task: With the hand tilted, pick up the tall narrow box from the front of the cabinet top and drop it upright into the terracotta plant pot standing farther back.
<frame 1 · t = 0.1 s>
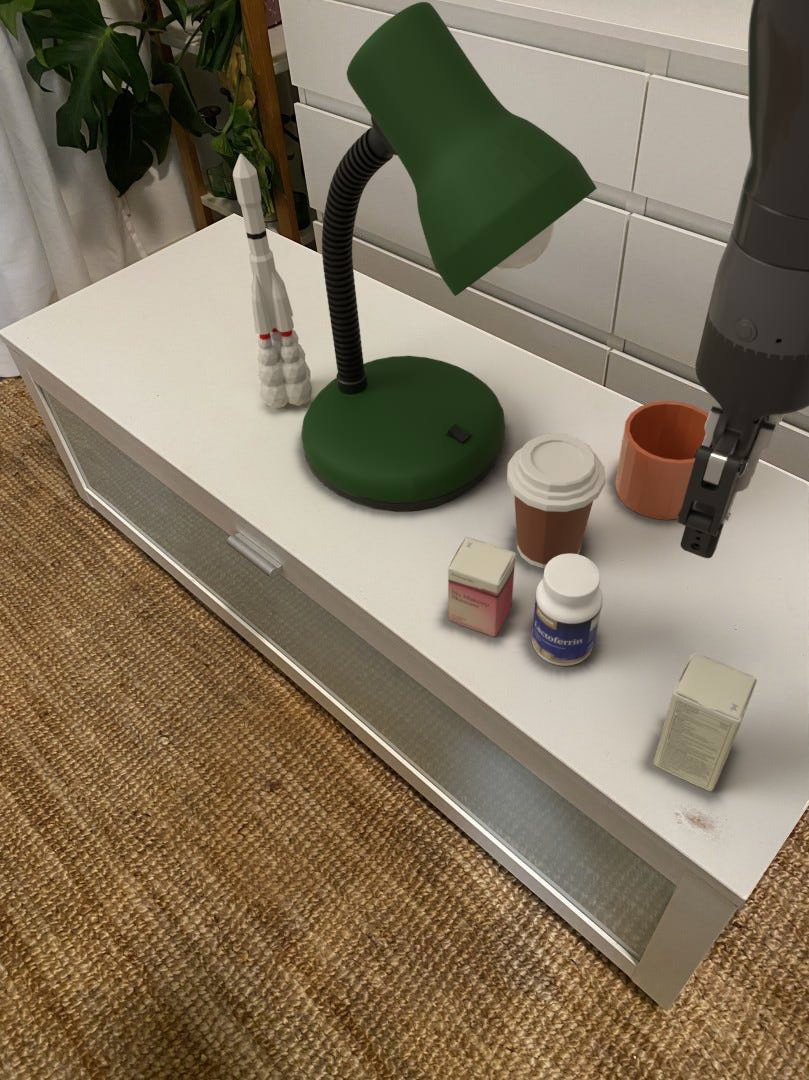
hand: (717, 511, 60), 21 cm above the tv stand, tool pointing down, fingers open, 8 cm apart
terracotta plant pot: (659, 487, 92), on the tv stand
coffee cup: (548, 546, 87), on the tv stand
small box: (480, 614, 82), on the tv stand
pill bottle: (562, 643, 79), on the tv stand
rocket model: (289, 399, 106), on the tv stand
box: (688, 759, 71), on the tv stand
desk lamp: (432, 455, 98), on the tv stand
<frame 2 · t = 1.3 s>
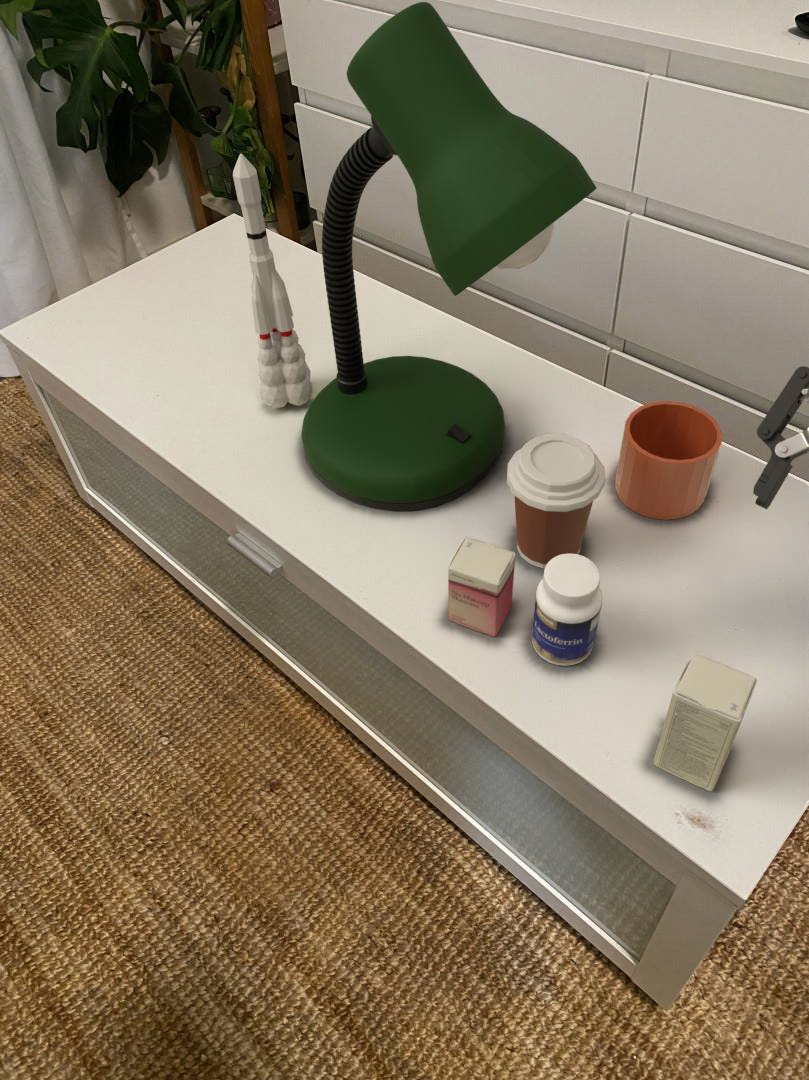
nothing on the tv stand moved.
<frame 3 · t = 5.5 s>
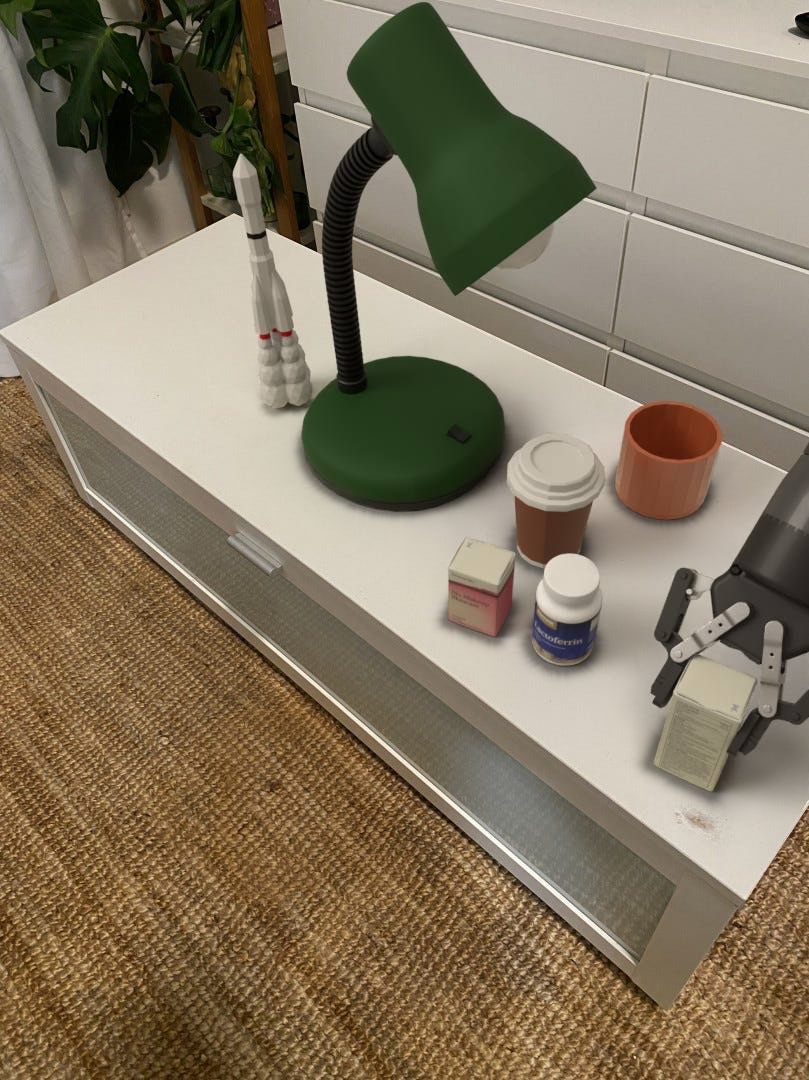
hand: (695, 728, 65), 7 cm above the tv stand, tool tilted 45°, fingers closed on box, 5 cm apart
box: (688, 759, 71), on the tv stand, touching gripper
everything else where it was.
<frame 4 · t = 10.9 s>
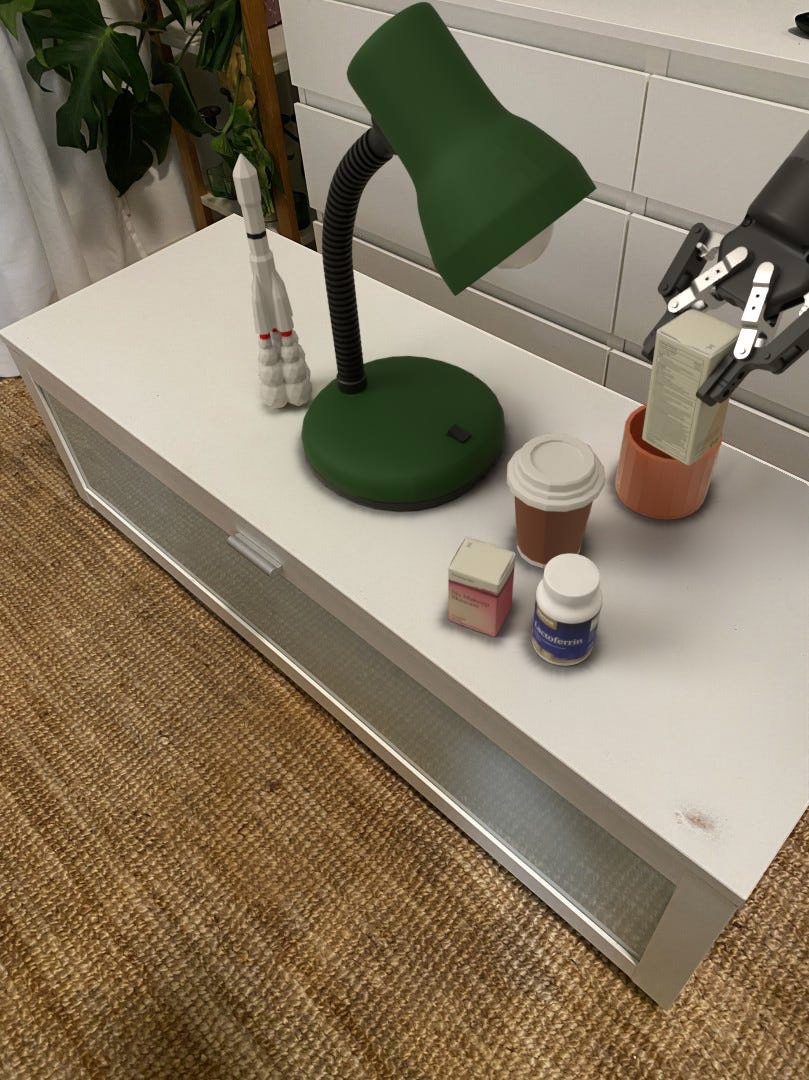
hand: (676, 379, 66), 24 cm above the tv stand, tool tilted 45°, fingers closed on box, 5 cm apart
box: (678, 442, 72), point 16 cm above the tv stand, touching gripper
everything else where it was.
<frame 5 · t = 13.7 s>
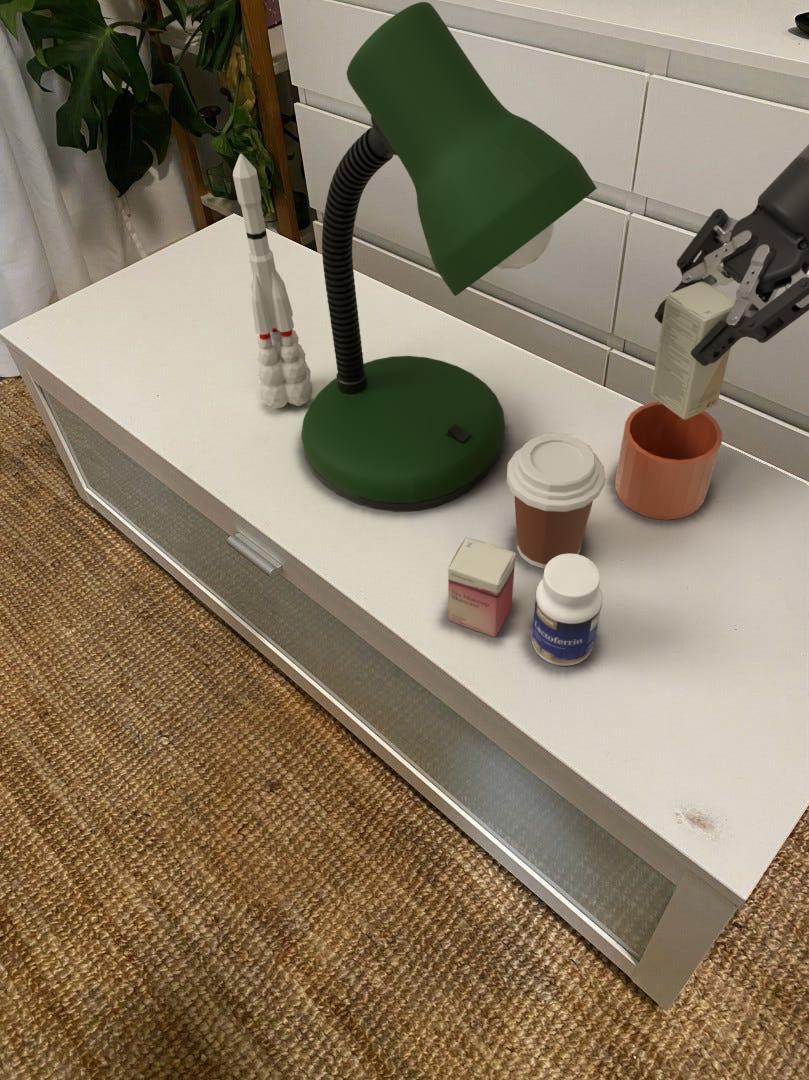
hand: (679, 340, 77), 19 cm above the tv stand, tool tilted 45°, fingers closed on box, 5 cm apart
box: (681, 400, 83), point 12 cm above the tv stand, touching gripper
everything else where it was.
when the fingers open (11 cm above the tv stand, at t = 16.4 s): box drops 3 cm, resting on terracotta plant pot.
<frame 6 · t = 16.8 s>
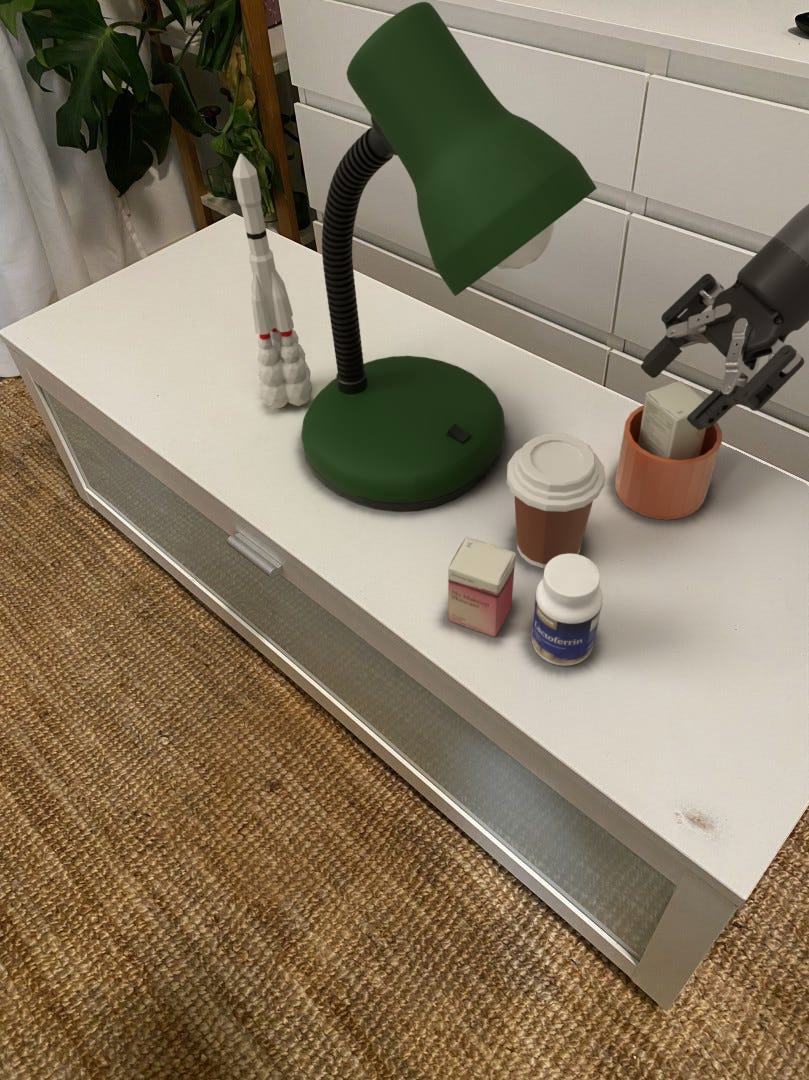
hand: (669, 398, 82), 13 cm above the tv stand, tool tilted 45°, fingers open, 8 cm apart
box: (660, 482, 92), resting on terracotta plant pot
everything else where it was.
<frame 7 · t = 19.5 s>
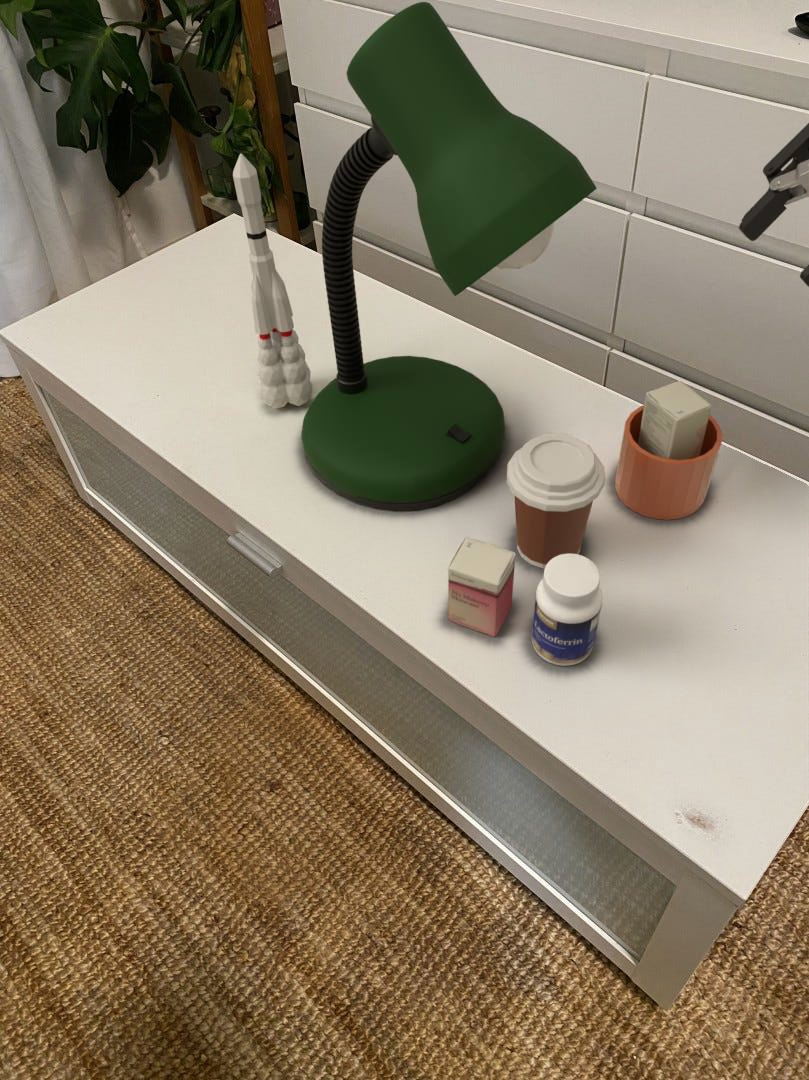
hand: (774, 258, 72), 26 cm above the tv stand, tool tilted 45°, fingers open, 8 cm apart
nothing on the tv stand moved.
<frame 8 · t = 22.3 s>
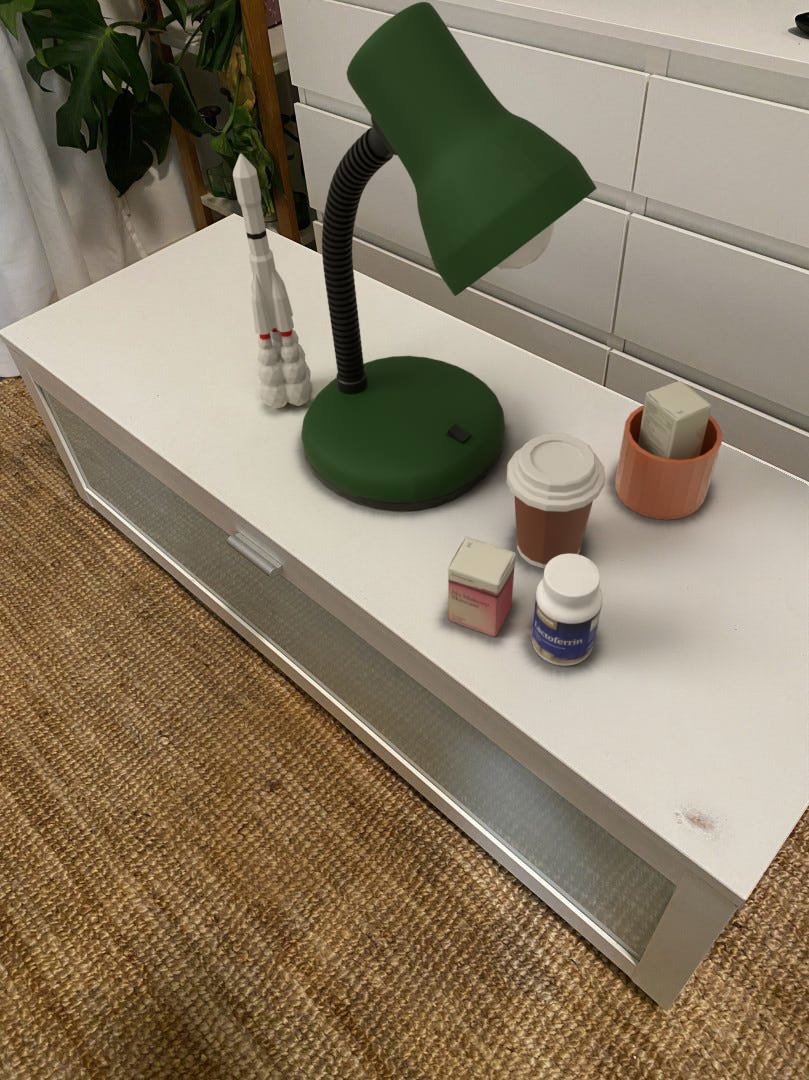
nothing on the tv stand moved.
at the end: box 0.5 cm off-centre in the terracotta plant pot, point 0.3 cm above the terracotta plant pot's base; box tilted 0°; the gripper is holding nothing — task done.
